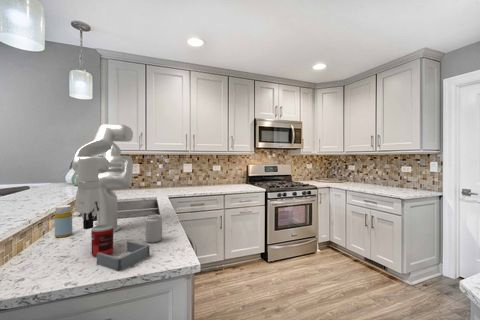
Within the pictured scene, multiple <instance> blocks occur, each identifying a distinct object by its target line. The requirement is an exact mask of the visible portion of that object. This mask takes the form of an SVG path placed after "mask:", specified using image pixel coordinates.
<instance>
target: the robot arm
mask: <svg viewBox="0 0 480 320" xmlns="http://www.w3.org/2000/svg"><path fill="white" fill-rule="evenodd" d="M133 132H134V131H133V129H132V128H131V127H130V126H128V125H126V124H123V123H122V124H120V123H103V124H101V125H100V126H99V127H98V129H97V131H96V134H95V136H94V138H93V140H92V141H90V142H88V143H86V144H85V145H83V146H81V147H80V148H79V149H78V150H77V151H76V153H75V155H74V157H73V159H72V164H71V167H72V170H73V172H75V173H77V190H76V195H75V205H74V206H75V211H76V213H79V214H80V215H81V217H82V223H83V226H82V227H83V228H82V229H83V230H89V229H92V228H93V227H94V225H95V226H99V225H113V233H115V232H118V231H119V230H121V229H122V227H121V225H118V196H117V195H116V193H115V192H114V191H115V190H127V189H130V187H131V184H132V179H133V172H134V171H133V169H134V161H133V157H131V156H129V155H121V153H122V151H121V148H120V147H119V145H118V144H116V143H115V142H125V143H126V142H128V143H129V142H131V141H132V139H133V138H134V133H133ZM100 154H103V156H97V155H100ZM95 216H96V222H94V219H95Z"/></svg>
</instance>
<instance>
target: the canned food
mask: <svg viewBox="0 0 480 320" xmlns="http://www.w3.org/2000/svg"><path fill="white" fill-rule="evenodd" d="M90 235H91V242H90V243H91V255H92V257H94V258H97V253H99V252H100V253H103V254H107V255H110V256H111V254H112V253H113V252H114V232H113V225H99V226H97V225H95V226H93V228H91V233H90Z"/></svg>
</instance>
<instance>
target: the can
mask: <svg viewBox="0 0 480 320" xmlns="http://www.w3.org/2000/svg"><path fill="white" fill-rule="evenodd" d="M144 221H145V222H144V223H145V224H144V225H145V226H144V228H145V232H144V233H145V241H146V242H148V244H149V243H150V244H151V243H154V244H155V243H158V242H160V241H162V239H163V218H162V217H161V214H155V213H154V214H149V215H147V216H146V218H145V220H144Z"/></svg>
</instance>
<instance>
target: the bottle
mask: <svg viewBox="0 0 480 320" xmlns="http://www.w3.org/2000/svg"><path fill="white" fill-rule="evenodd" d="M72 234H73V213H72V205H71V204H62V205H57V206H55V215H54V237H55V238H57V239H62V238H67V237H70V236H71V235H72Z"/></svg>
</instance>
